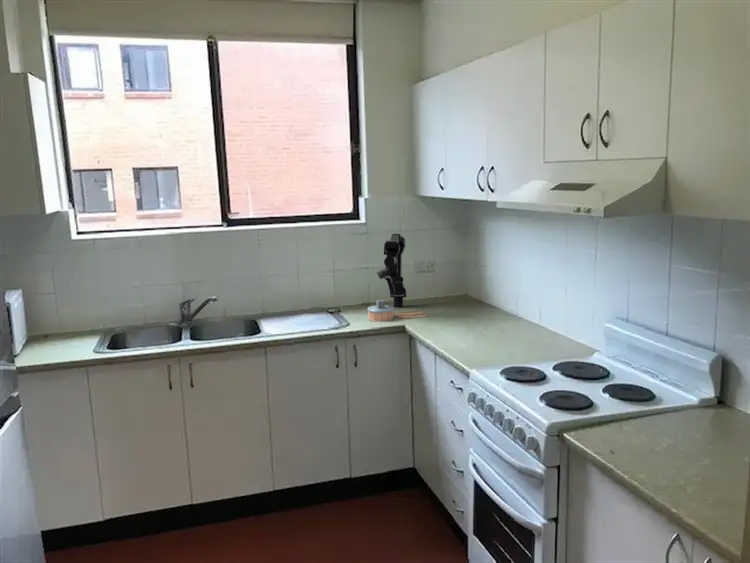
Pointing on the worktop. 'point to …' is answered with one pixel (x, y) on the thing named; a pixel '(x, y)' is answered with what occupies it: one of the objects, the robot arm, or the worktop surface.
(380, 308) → the lid
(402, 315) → the board
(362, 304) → the worktop surface
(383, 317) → the bowl
